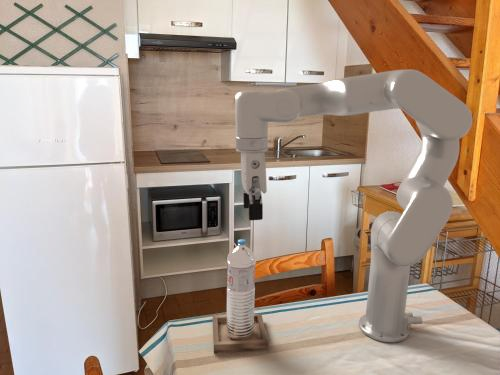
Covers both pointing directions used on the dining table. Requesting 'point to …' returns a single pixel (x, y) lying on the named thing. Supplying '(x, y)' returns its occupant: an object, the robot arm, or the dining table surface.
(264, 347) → the tray
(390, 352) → the dining table surface
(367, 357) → the dining table surface
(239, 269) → the water bottle
